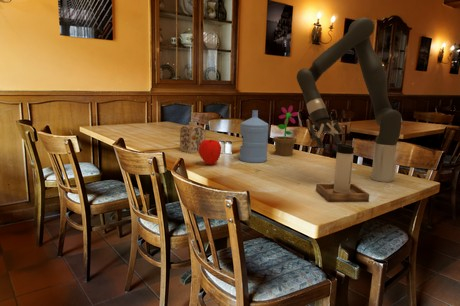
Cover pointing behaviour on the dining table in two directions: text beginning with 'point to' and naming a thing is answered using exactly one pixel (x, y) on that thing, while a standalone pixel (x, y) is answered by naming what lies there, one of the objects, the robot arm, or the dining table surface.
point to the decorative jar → (191, 137)
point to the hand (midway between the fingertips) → (330, 145)
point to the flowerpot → (282, 142)
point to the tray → (342, 194)
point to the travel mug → (343, 169)
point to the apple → (210, 151)
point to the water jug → (254, 139)
